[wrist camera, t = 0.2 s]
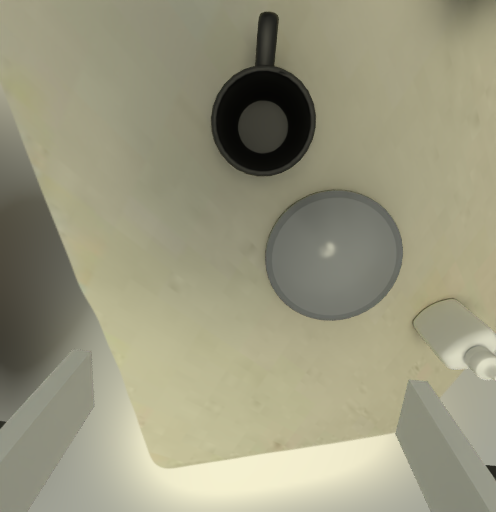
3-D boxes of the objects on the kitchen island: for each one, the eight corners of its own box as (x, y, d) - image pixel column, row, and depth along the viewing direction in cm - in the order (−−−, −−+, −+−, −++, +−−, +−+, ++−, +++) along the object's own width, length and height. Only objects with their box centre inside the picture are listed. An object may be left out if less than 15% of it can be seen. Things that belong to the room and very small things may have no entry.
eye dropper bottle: (459, 330, 44) (530, 397, 32) (411, 334, 44) (463, 401, 33) (462, 296, 42) (536, 354, 31) (412, 300, 43) (467, 358, 31)
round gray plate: (272, 184, 39) (272, 184, 39) (412, 195, 39) (416, 197, 38) (259, 311, 44) (259, 314, 43) (386, 322, 44) (388, 326, 43)
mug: (313, 44, 35) (330, 10, 26) (298, 171, 39) (309, 180, 30) (228, 37, 36) (216, 1, 26) (220, 165, 39) (207, 172, 30)
